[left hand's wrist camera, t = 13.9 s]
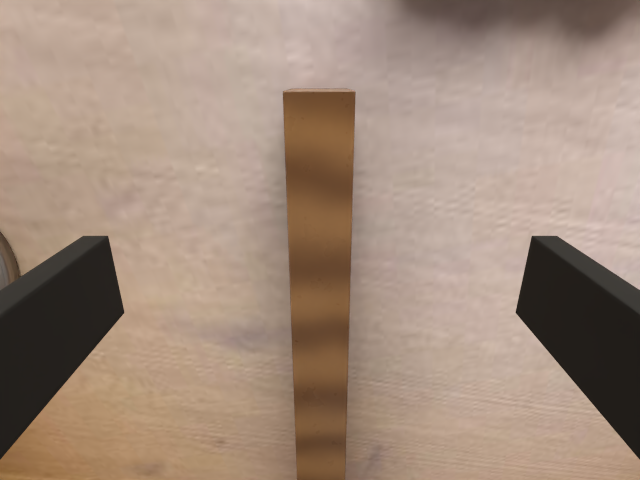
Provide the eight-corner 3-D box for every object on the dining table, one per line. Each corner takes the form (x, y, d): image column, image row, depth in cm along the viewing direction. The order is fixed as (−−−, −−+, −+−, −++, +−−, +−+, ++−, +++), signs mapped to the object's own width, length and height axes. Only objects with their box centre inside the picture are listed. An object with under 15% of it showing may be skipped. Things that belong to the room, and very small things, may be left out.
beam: (290, 88, 33) (282, 90, 26) (347, 88, 33) (355, 90, 26) (303, 504, 53) (300, 571, 45) (339, 504, 53) (342, 571, 45)
